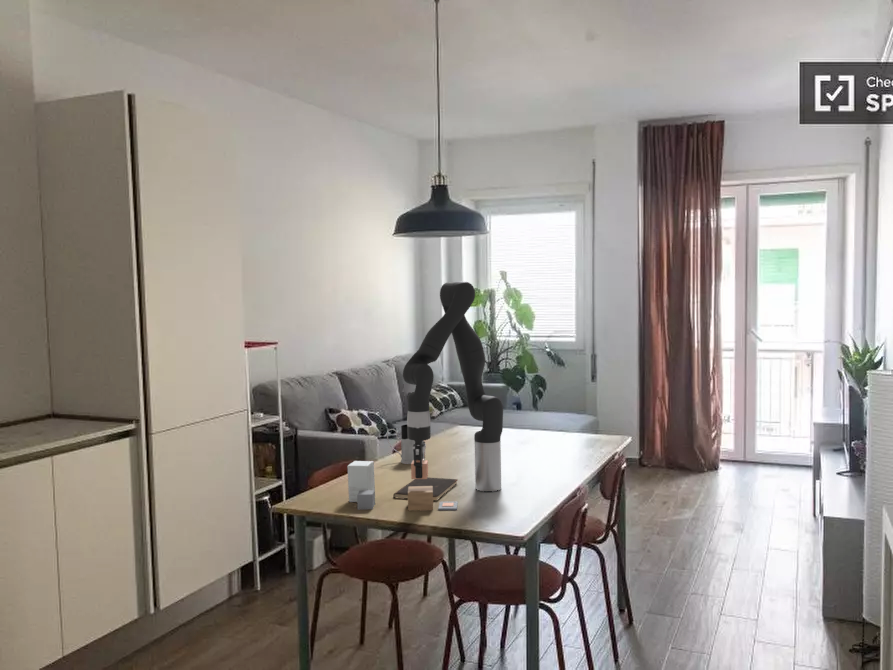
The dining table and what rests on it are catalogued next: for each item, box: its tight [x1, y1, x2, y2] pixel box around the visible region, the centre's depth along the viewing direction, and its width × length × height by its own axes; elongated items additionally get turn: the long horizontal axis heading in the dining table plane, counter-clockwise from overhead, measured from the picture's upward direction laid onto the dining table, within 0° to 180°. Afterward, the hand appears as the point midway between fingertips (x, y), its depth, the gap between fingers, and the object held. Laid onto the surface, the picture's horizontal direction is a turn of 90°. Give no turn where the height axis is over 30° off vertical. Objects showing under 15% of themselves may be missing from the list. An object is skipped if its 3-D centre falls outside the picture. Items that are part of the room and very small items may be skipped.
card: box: [437, 500, 459, 511], centre depth 248 cm, size 8×6×1 cm
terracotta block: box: [410, 459, 429, 480], centre depth 248 cm, size 5×5×5 cm
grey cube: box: [356, 489, 376, 510], centre depth 250 cm, size 5×5×5 cm
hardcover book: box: [392, 476, 459, 501], centre depth 269 cm, size 16×23×2 cm
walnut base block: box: [407, 486, 434, 511], centre depth 249 cm, size 8×8×6 cm
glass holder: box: [386, 423, 415, 465], centre depth 315 cm, size 9×14×15 cm, turn 88°
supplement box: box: [347, 460, 376, 503], centre depth 259 cm, size 7×7×13 cm
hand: (419, 475), depth 248 cm, fingers closed on terracotta block, 5 cm apart
